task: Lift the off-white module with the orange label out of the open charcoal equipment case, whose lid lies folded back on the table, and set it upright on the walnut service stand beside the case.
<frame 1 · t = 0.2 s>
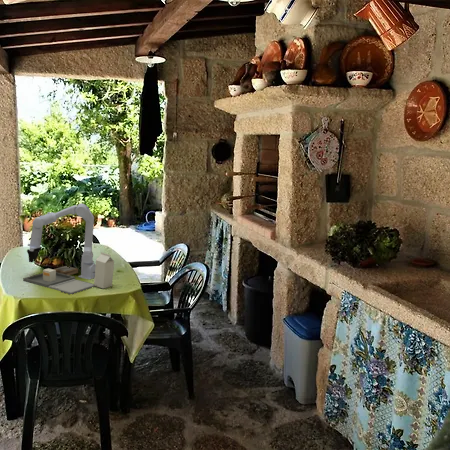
hand: (32, 260, 293), 10 cm above the table, tool pointing down, fingers open, 7 cm apart
module: (49, 275, 290), in the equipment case
milk carton: (102, 286, 285), on the table, touching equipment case
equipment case: (49, 280, 290), on the table
service stand: (65, 273, 306), on the table
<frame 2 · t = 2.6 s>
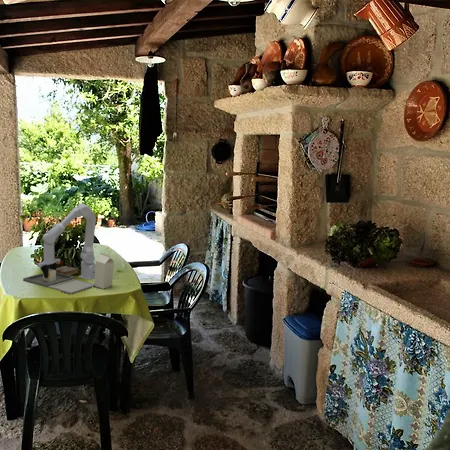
hand: (49, 276, 290), 2 cm above the table, tool pointing down, fingers closed on module, 4 cm apart
module: (49, 275, 290), in the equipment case, touching gripper
everything else where it was.
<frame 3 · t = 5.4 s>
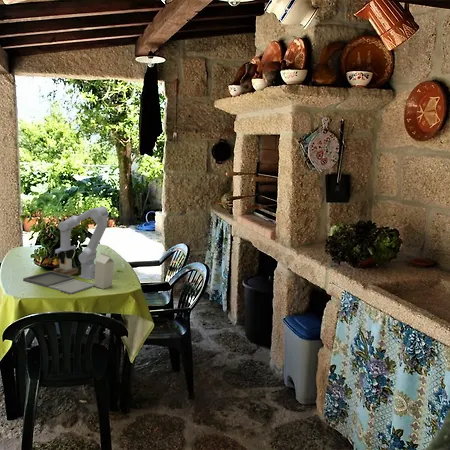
hand: (65, 262, 305), 7 cm above the table, tool pointing down, fingers closed on module, 4 cm apart
module: (65, 263, 305), point 6 cm above the table, touching gripper, service stand
everything else where it was.
when the fingers open (6 cm above the table, at t = 6.3 s): module stays where it is, resting on service stand.
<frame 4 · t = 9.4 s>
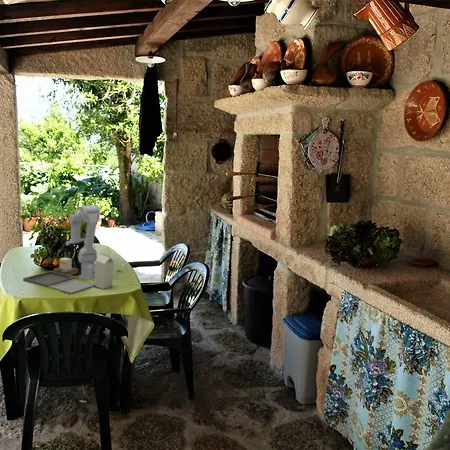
hand: (75, 254, 315), 9 cm above the table, tool pointing down, fingers open, 7 cm apart
module: (65, 263, 305), on the service stand, point 6 cm above the table
everything else where it was.
at the end: module inside the target area on the service stand (0.1 cm from its centre), point 6.3 cm above the service stand's base; module tilted 0°; the gripper is holding nothing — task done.
